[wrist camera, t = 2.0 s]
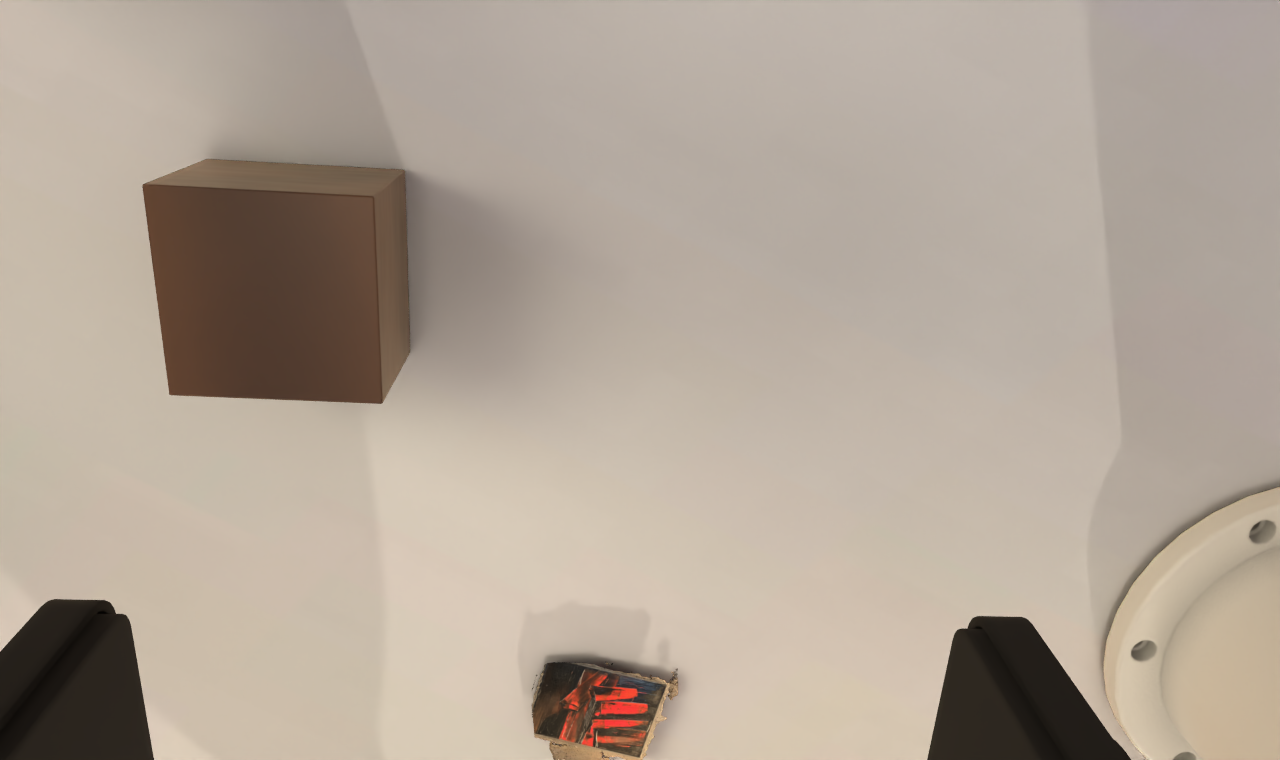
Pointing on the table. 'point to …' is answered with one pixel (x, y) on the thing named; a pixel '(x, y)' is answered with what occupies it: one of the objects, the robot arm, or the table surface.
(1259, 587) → the robot arm
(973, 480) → the table surface
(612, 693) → the painted wall fragment
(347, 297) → the walnut block
